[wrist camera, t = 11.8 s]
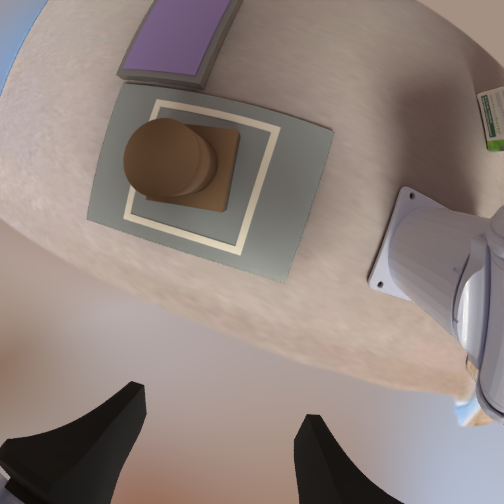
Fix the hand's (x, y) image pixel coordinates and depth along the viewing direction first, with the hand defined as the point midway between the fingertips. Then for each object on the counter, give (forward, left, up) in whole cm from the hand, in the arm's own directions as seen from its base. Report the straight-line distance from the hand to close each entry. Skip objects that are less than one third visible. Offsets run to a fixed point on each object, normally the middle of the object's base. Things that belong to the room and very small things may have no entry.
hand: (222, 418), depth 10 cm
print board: (+6, -9, -10) cm, 15 cm away
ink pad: (+11, -20, -10) cm, 25 cm away
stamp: (+6, -10, -10) cm, 15 cm away
